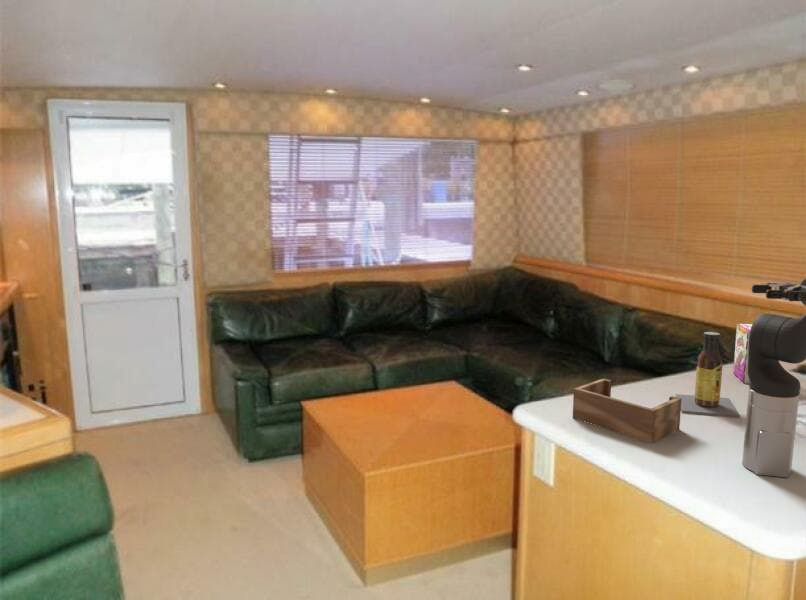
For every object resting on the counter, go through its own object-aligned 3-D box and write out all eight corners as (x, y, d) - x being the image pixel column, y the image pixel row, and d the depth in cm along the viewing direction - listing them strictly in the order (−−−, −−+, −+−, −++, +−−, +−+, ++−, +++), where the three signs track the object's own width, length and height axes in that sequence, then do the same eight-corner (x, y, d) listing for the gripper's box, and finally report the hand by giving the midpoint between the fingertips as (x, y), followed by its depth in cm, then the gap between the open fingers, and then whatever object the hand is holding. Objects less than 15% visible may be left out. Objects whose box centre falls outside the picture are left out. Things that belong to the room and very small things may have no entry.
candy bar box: (731, 373, 205) (736, 323, 202) (748, 374, 204) (753, 323, 201) (742, 383, 195) (747, 331, 192) (760, 384, 194) (765, 331, 191)
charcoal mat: (739, 417, 167) (740, 415, 167) (681, 412, 171) (681, 410, 171) (728, 400, 180) (729, 398, 180) (675, 396, 184) (675, 394, 184)
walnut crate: (601, 406, 176) (603, 378, 175) (679, 429, 160) (681, 398, 158) (572, 417, 168) (573, 388, 166) (651, 443, 151) (653, 411, 150)
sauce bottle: (719, 409, 171) (725, 337, 168) (693, 406, 174) (699, 335, 170) (718, 401, 177) (724, 331, 174) (694, 398, 180) (699, 329, 176)
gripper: (812, 274, 173) (749, 273, 175) (842, 282, 159) (773, 281, 161) (809, 301, 175) (746, 300, 176) (838, 311, 161) (770, 310, 162)
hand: (759, 291), depth 169 cm, fingers open, 8 cm apart
